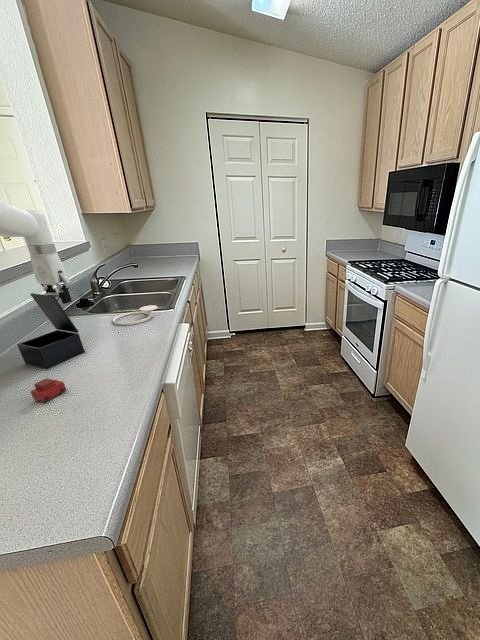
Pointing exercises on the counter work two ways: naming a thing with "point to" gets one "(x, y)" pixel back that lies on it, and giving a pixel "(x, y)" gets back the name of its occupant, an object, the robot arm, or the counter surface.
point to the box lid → (54, 311)
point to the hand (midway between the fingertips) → (60, 301)
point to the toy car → (47, 389)
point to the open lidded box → (51, 349)
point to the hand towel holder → (145, 308)
